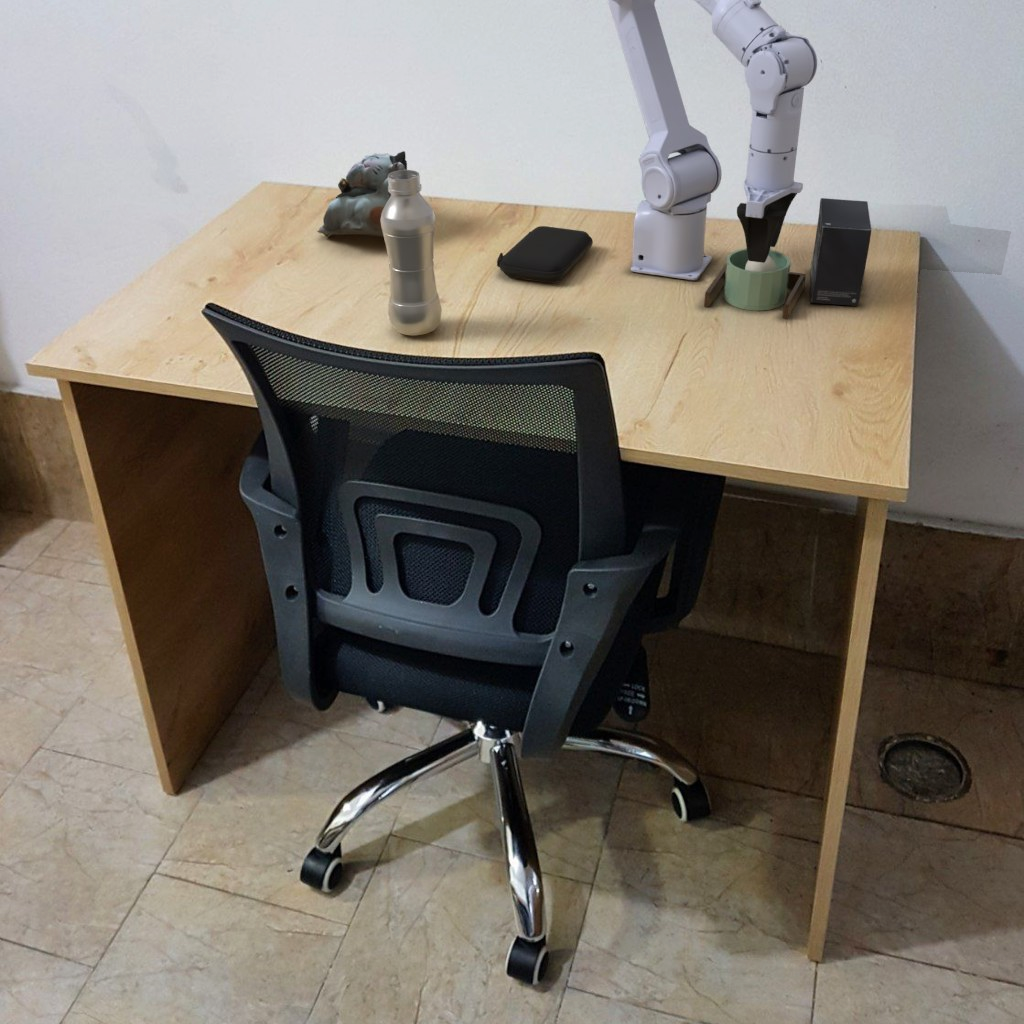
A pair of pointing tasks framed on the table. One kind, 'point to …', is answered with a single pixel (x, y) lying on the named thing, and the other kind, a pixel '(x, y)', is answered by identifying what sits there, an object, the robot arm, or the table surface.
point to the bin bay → (798, 285)
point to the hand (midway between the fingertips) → (762, 253)
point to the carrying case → (545, 254)
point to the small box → (840, 252)
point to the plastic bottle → (410, 256)
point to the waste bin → (756, 282)
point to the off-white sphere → (761, 265)
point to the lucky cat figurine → (362, 196)
